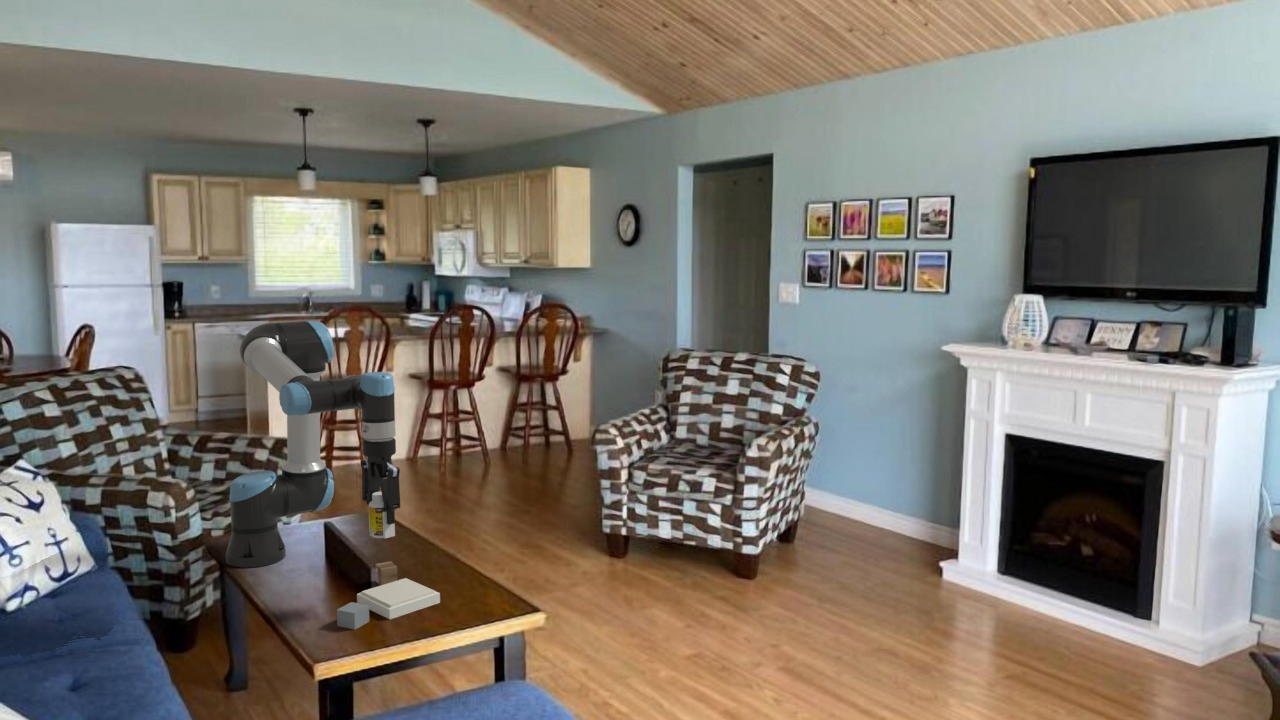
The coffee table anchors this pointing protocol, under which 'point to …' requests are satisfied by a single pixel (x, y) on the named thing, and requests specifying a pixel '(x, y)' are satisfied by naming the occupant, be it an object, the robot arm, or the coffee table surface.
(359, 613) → the grey matte cube
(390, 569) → the walnut block
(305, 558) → the coffee table surface
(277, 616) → the coffee table surface
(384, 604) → the podium
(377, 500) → the supplement bottle
